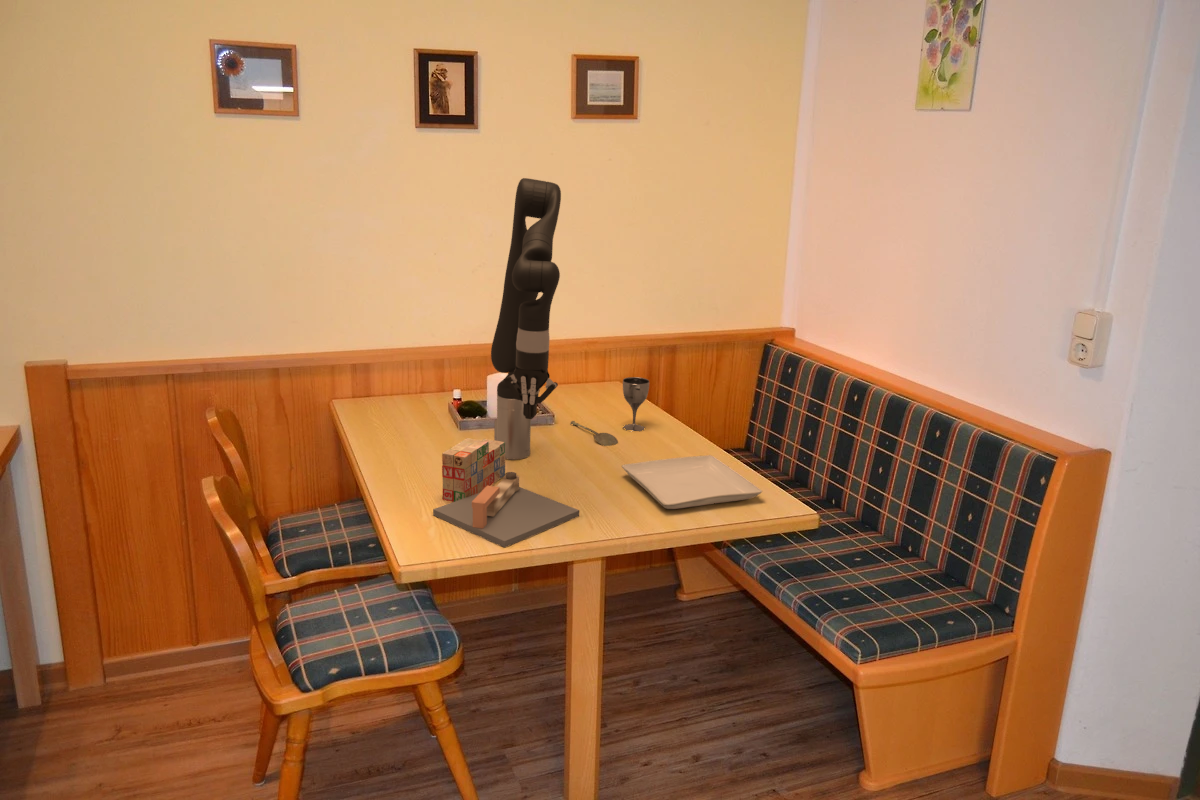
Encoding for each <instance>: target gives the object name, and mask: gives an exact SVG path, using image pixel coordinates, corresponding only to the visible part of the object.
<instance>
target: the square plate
mask: <svg viewBox="0 0 1200 800" xmlns="http://www.w3.org/2000/svg"><path fill="white" fill-rule="evenodd" d="M621 469H623V470H624V471H625V472H626V474H627V475H628V476H629V477H630V478H631V479H633V481H635V482H636V483H637V484H639V485H640V486H641V487H642V488H643V489H644V490H645V491H646V492H647V493H648V494H649V495H651V497H652V498H653V499H654V500H655V501H656V502H658V504H660V505H661V507H663V508H665V510H666V509H667V510H676V509H677V510H678V509H684V508H691V507H698V506H707V505H715V504H721V503H729V502H736V501H744V500H750V499H753V498H755V497H757V496H759V495H761V493H763V490H762V489H761V488H759V487H758V486H757V485H755V484H754V483H753V482H751V481H750V480H748V479H747V478H746V477H744V476H743V475H741V474H740V473H739V472H737V471H736V470H734V469H733V468H731V467H730V466H729V465H727V464H725V463H724V462H723V461H721V460H720V459H718V458H716V457H715V456H714V455H710V454H709V455H708V454H707V455H697V456H683V457H681V456H680V457H673V458H665V459H655V460H647V461H641V462H635V463H634V462H632V463H626V464H621ZM714 503H715V504H714Z"/></svg>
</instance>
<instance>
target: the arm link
mask: <svg viewBox="0 0 1200 800" xmlns="http://www.w3.org/2000/svg"><path fill="white" fill-rule="evenodd" d="M495 487H500V493H499V494H498V495H497V496H496V498H495V499H494V500H493V501H492V502H491V503H490V504H489V505H488V506H487V516H493V517H494V516H495V515H496V513H497V512H498V511H499V510H500V509H501V508H502V506H503V505H504V504H505V503H506V502H507V501H508V499H509V498H510V497H511V496H512V495H513V494H514V492H516V491H518V490H519V487H520V476H519V475H517V472H514V471H507V472H505V475H504V476H503V477H502V479H501V481H499V483H498V484H497V485H495Z"/></svg>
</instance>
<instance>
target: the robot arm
mask: <svg viewBox="0 0 1200 800" xmlns="http://www.w3.org/2000/svg"><path fill="white" fill-rule="evenodd" d="M561 199H562V191H561V188H560V186H559V185H558V184H557V183H554V182H551V181H546V180H541V179H535V178H534V179H533V178H527V177H526V178H525V177H523V178H521V179H520V180H519V181H518V184H517V187H516V193H515V198H514V210H513V220H512V230H511V238H510V239H511V241H510V247H509V253H508V257H507V263H506V268H505V274H504V275H505V276H504V283H503V291H502V299H501V303H500V310H499V314H498V315H499V316H498V320H497V324H496V326H495V327H496V328H495V332H494V335H493V340H492V343H491V350H490V359H491V363H492V366H493V368H494V369H495V370H496V371H497V372H498V373H501V374H507V375H506V376H505V377H504V378H503V379H502V380H501V381H500V382H499V383H498V384H497V387H496V407H497V408H496V419H494V423H493V424H494V430H493V431H494V435H493V437H494V438H493V439H494V440H496V441H501V442H505V460H522V459H526V458H528V457H529V456H530V455H531V425H532V420H533V419H534V418H535V417H536V415H537V414H538V413H537V411H538V404H541V403H543V402H544V401H545V400H546V399H547V398H548V397H549V396H550V395H551V394H552V392H554V391H555V389H556V388H557V387H558V386H559V385H558V382H556V381H553V380H552V379H551V378H550V376H551V375H550V373H549V354H550V318H551V317H550V316H551V307H552V303H553V299H554V296H555V294H556V291H557V288H558V285H559V282H560V277H561V275H560V274H561V273H560V272H561V271H560V269H559V267H558V265H557V264H556V263H555V262H553V261H552V259H553V250H554V249H553V248H554V247H553V244H554V243H553V242H554V235H555V232H556V227H557V224H558V218H559V214H560V208H561V201H562V200H561ZM528 217H529V218H533V219H538V221H536V222H535V223H533V224H532V225H531V226H530V227H528V229H527V222H526V219H527V218H528ZM539 293H542V295H541V296H540V297H539V298H538V296H539ZM543 386H545V390H544V392H543V393H542V394H541V395H540V396H539V394H540V391H541V388H543Z"/></svg>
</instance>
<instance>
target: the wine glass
mask: <svg viewBox="0 0 1200 800" xmlns="http://www.w3.org/2000/svg"><path fill="white" fill-rule="evenodd" d="M649 389H650V380H649V379H647V378H644V377H638V376H631V377H629V376H628V377H624V378H623V379H622V393H623V398H624V399H625V401H626V403H627V404H628V405H629V406H630V408H631V411H632V423H628V425H627V424H625V426H624V425H623V426H624V427H623V428H625V429H626V430H625V431H627V430H632V431H639V432H643V431H645V430H644V428H645V429H646V427H645V426H644V425H642V424H638V425H637V422H636V417H637V411H638V409H639V408H640V406H641V405H642V404H643V403H644V402H645V401H646V399H647V398H648V394H649ZM641 425H642V426H641ZM623 428H622V429H623ZM642 430H643V431H642ZM632 431H631V432H632Z"/></svg>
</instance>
